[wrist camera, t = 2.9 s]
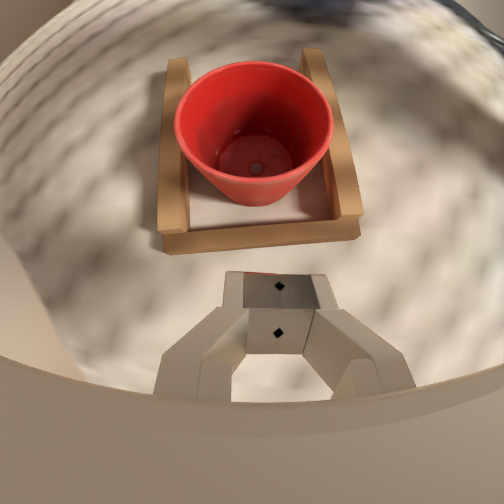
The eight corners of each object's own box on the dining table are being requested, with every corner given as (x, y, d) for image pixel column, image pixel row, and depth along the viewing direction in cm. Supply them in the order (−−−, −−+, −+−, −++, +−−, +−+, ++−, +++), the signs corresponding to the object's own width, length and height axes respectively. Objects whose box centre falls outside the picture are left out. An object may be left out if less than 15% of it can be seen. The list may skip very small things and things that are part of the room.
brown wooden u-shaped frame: (354, 239, 26) (366, 231, 23) (170, 255, 26) (157, 248, 23) (315, 68, 30) (319, 48, 26) (175, 78, 30) (168, 60, 26)
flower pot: (279, 245, 26) (290, 214, 17) (178, 190, 27) (143, 140, 18) (329, 155, 28) (355, 96, 18) (235, 111, 29) (227, 45, 19)
